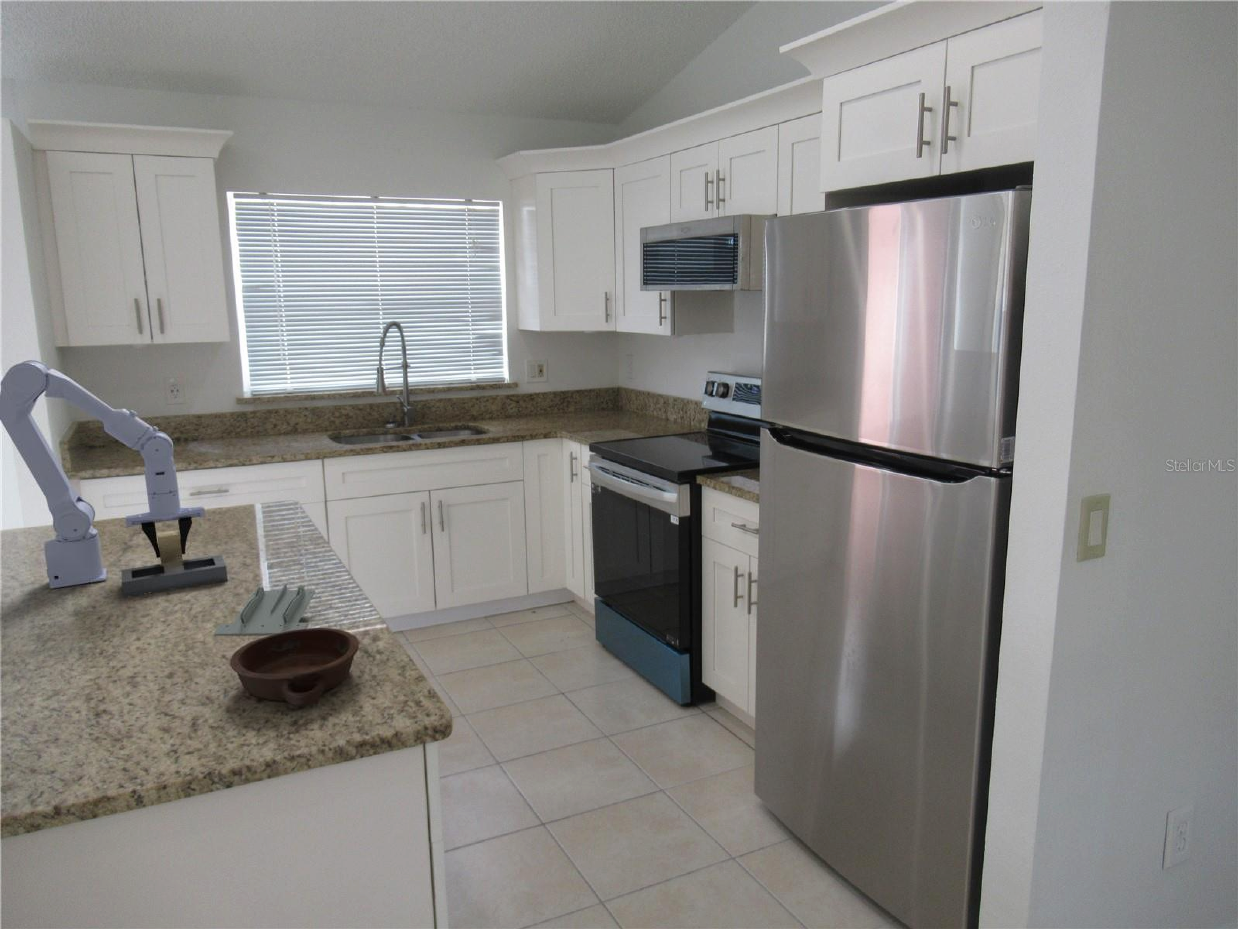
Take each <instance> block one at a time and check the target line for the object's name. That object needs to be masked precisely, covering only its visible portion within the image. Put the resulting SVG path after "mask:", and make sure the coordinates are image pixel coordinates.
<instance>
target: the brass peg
mask: <svg viewBox="0 0 1238 929" xmlns="http://www.w3.org/2000/svg"><path fill="white" fill-rule="evenodd" d="M156 535H157V542H158V546H159V551H160V558H159V559H160V560H159V561H160V564H164V563H170V562H177V561H183V559H184V558H183V554H182V550H181V542H180V531H179V529H178V530H169V531H162V532H156Z"/></svg>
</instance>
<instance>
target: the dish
mask: <svg viewBox="0 0 1238 929" xmlns="http://www.w3.org/2000/svg"><path fill="white" fill-rule="evenodd" d="M359 644H360V642H359V638H358V637H357V636H356V635H354V634H352V633H350V632H349V631H346V630H342V629H339V628H332V627H330V628H329V627H310V628H306V629H299V630H292V631H287V632H282V633H278V634H274V635H266V636H264V637H262V638H257V639H255V640H253V641H250V642H248V643H246V644H245V645H243V646H242V647H240V648H239V649H237V650H236V651H235V652H234V653H233V654H232V655H231V658H230V661H229V664H230V668H231V669H232V670H233V672H235V673H236V674H237V676H238V679H239V680H240V684H241V685H242V687H243V688H244V689H245V691H246V692H247V693H249V694H252V695H253V696H255V697H258V698H260V699H264V700H269V701H280V702H281V701H284V702H288V703H289V704H290V705H293V706H295V707H296V706H298V707H303V706H307V705H309V704H312V703H314V702H316V701H317V700H319V699H320V698H321V696H322V694H323V693H325V692H327V691H329V690H331V689H333V688H335V687H337V686H338V685H339V684H341V683H342V682H344V680H345V679H346V677H347V676H348V674H349V672H350V671H351V667H352V665H353V662H354V658H355V656H356V654H357V652H358V650H359V646H360V645H359Z"/></svg>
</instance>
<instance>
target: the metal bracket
mask: <svg viewBox="0 0 1238 929" xmlns="http://www.w3.org/2000/svg"><path fill="white" fill-rule="evenodd" d="M315 593H316V590H315V589H305V587H304V586H300V585H299V586H298V588H297V589H296V590H294V589H293V590H288V585H287V584H286V583H285V584H284V585H283V586H282V589H281V590H265V589H264V587H263V586H258V587H257V588H256V590H255V591H253V593H252V594H251V596H250V598H249V599H248V601H247V602H246V603H245V605H244V606H243V608H242V609H241V611H240V613H238V615H237V617H236V619H235V620H234V621H233V622H232V623H220V624H219V625H218V627H217V629H216V630H215V631H214V632H213V633H214V634H213V636H216V637H217V636H218V637H219V636H220V637H221V636H222V637H223V636H270V635H271V634H272V635H274V634H278V633H282V632H287V631H292V630H299V629H308V626H309V622H300V621H301V619H302V617H303V615H304V614H305V612H306V610H307V608H308V606H309V604H310V602H311V600H312V599H313V597H314V595H315Z"/></svg>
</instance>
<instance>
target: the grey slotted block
mask: <svg viewBox="0 0 1238 929" xmlns="http://www.w3.org/2000/svg"><path fill="white" fill-rule="evenodd" d="M227 581H228V572H227V565H226V563H225V560H224V558H223V555H222V554H217V555H212V556H205V557H197V558H191V559H186V560H183V561H177V562H170V563H164V564H161V563H158V564H151V565H146V566H140V567H139V566H137V567H133V568H132V567H131V568H124V569H121V588H122V594H123V598H124V597H125V598H129V597H128V596H131V597H136V595H137V596H141V595H140V594H143V595H145V594H144V593H149V592H150V593H149V594H152V593H151V592H155V593H161V592H166V590H167V591H172V590H171V589H173V590H177V589H184V587H185V588H190V587H196V586H195V585H197V586H202V585H207V584H208V583H210V584H214V583H213V582H216V583H221V582H227Z"/></svg>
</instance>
